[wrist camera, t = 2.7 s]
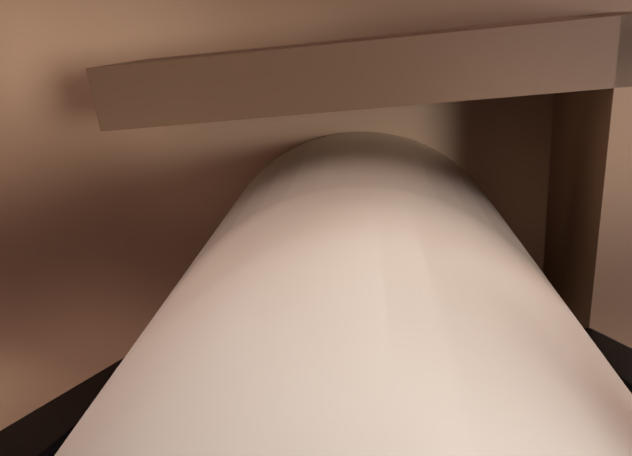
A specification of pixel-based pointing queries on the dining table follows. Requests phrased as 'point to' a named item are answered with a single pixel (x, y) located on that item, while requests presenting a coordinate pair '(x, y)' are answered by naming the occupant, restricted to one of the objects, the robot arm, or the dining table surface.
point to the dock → (285, 145)
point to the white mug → (361, 327)
